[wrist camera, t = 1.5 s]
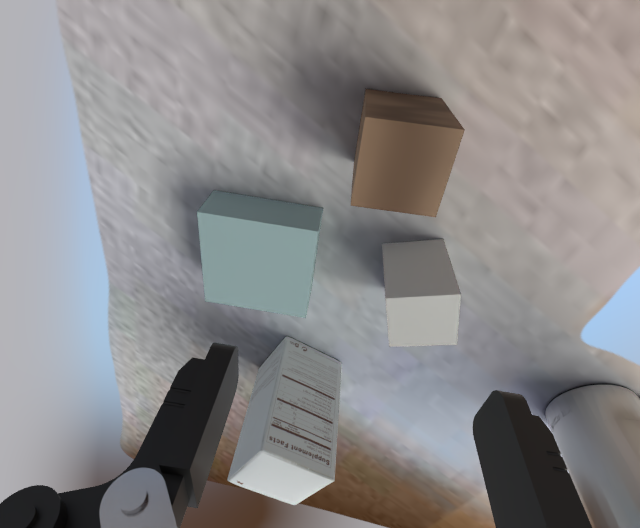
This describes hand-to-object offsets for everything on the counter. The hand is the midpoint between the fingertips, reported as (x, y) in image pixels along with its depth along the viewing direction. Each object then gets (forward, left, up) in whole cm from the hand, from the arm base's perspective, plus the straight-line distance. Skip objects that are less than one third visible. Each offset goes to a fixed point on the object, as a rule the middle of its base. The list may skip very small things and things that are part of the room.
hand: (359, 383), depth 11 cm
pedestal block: (+7, +9, -19) cm, 22 cm away
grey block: (-6, +9, -19) cm, 22 cm away
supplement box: (+3, +25, -19) cm, 31 cm away
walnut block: (-2, -2, -19) cm, 19 cm away
